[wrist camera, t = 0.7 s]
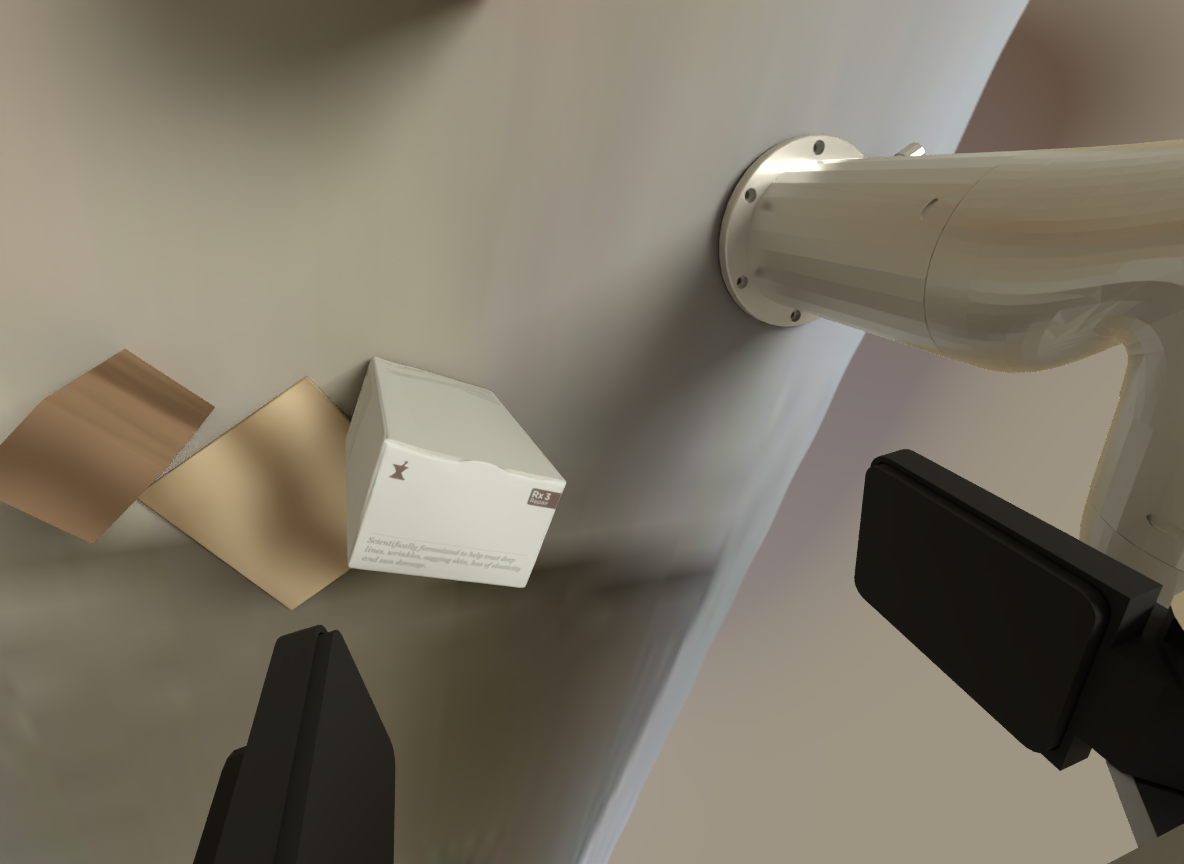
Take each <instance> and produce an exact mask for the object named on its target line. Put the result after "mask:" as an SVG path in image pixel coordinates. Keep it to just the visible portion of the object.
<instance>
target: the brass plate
mask: <svg viewBox="0 0 1184 864" xmlns="http://www.w3.org/2000/svg"><path fill="white" fill-rule="evenodd" d="M350 424H351V421H350V420H349V419H348V418H347V417H346V416H345V415H344V414H343V413H342V412H341V411H340V410H339V409H338V408H337V407H336V406H335V405H334V404H333V403H332V402H331V401H330V400H329V399H328V397H327V396H326V395H325V394H324V393H323V392H322V391H321V390H320V389H319V388H318V387H317V386H316V385H315V384H314V383H313V382H312V381H311V380H310V379H309V378H308V377H307V376H306V377H305V378H303V379H302V380H301V381H299V382H298V383H296V384H295V385H293V386H292V387H290V388H289V389H288V390H286V391H285V392H283V393H282V394H280V395H279V396H278V397H276V398H275V399H273V400H272V401H270V402H269V403H267V404H266V405H265V406H263V407H262V408H260V409H259V410H257V411H256V412H254V413H253V414H252V415H250V416H249V417H247V418H246V419H244V420H243V421H242V422H240V423H239V424H237V425H236V426H234V427H233V428H231V429H230V430H229V431H227V432H226V433H224V434H223V435H221V436H220V437H218V438H217V439H216V440H214V441H213V442H211V443H210V444H208V445H207V446H206V447H204V448H203V449H201V450H200V451H198V452H197V453H195V454H194V455H193V456H191V457H190V458H188V459H187V460H185V461H184V462H182V463H181V464H180V465H178V466H177V467H175V468H174V469H172V470H171V471H170V472H168V473H167V474H165V475H164V476H162V477H161V478H159V479H158V480H157V481H155V482H154V483H152V484H151V485H150V486H149V487H148V488H147V489H146V490H145V491H144V492H143V493H142V494H141V495H140V496H139V497H138V499H139V500H141V501H142V502H143V503H145V504H146V505H147V506H149V507H150V508H152V509H153V510H154V511H156V512H157V513H158V514H160V515H161V516H163V517H164V518H165V519H167V520H168V521H170V522H171V523H172V524H174V525H175V526H176V527H178V528H179V529H181V530H182V531H183V532H185V533H186V534H187V535H189V536H190V537H192V538H193V539H194V540H196V541H197V542H198V543H200V544H201V545H203V546H204V547H205V548H207V549H208V550H209V551H211V552H212V553H214V554H215V555H216V556H218V557H219V558H220V559H222V560H223V561H225V562H226V563H227V564H229V565H230V566H231V567H233V568H234V569H236V570H237V571H238V572H240V573H241V574H242V575H244V576H245V577H247V578H248V579H249V580H251V581H252V582H254V583H255V584H256V585H258V586H259V587H260V588H262V589H263V590H265V591H266V592H267V593H269V594H270V595H271V596H273V597H274V598H276V599H277V600H278V601H280V602H281V603H282V604H284V605H285V606H287V607H288V608H289V609H291V610H293V609H295V608H296V607H297V606H299V605H300V604H302V603H303V602H304V601H306V600H307V599H309V598H310V597H311V596H313V595H314V594H316V593H317V592H319V591H320V590H321V589H323V588H324V587H326V586H327V585H328V584H330V583H331V582H333V581H334V580H335V579H337V578H338V577H340V576H341V575H343V574H344V573H345V572H347V571H348V570H350V569H351V568H349V567H348V554H347V511H346V437H347V433H348V430H349V427H350Z"/></svg>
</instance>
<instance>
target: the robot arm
mask: <svg viewBox="0 0 1184 864" xmlns="http://www.w3.org/2000/svg"><path fill="white" fill-rule="evenodd" d="M745 193H746V196H745ZM719 259H720V265H721V271H722V276H723V278H724V281H725V284H726V286H727V289H728V291H729V293H730V294H731V296H732V297H733V299H734V300H735V302H736V303H737V304H738V305H739V306H740V307H741V308H742V309H743V310H744V311H745V312H746V313H747V314H749V315H751V316H752V317H754V318H756V319H757V320H760V321H763V322H765V323H768V324H771V325H777V326H782V327H790V326H799V325H802V324H806V323H810V322H812V321H814V320H816V319H818V318H821V317H822V318H825V319H828V320H831V321H834V322H838V323H841V324H844V325H847V326H850V327H853V328H856V329H859V330H862V331H866V332H869V333H872V334H875V335H878V336H881V337H884V338H888V339H891V340H894V341H897V342H900V343H903V344H906V345H909V346H912V347H915V348H919V349H922V350H925V351H928V352H931V353H934V354H937V355H940V356H944V357H946V358H950V359H953V360H957V361H960V362H963V363H966V364H969V365H973V366H976V367H979V368H983V369H987V370H991V371H999V372H1007V373H1021V372H1022V373H1024V372H1036V371H1041V370H1047V369H1052V368H1056V367H1060V366H1063V365H1066V364H1069V363H1072V362H1075V361H1078V360H1081V359H1084V358H1087V357H1089V356H1092V355H1094V354H1097V353H1099V352H1102V351H1105V350H1107V349H1109V348H1112V347H1114V346H1117V345H1119V344H1121V343H1122V344H1123V345H1124V346H1125V347H1126V351H1127V354H1128V364H1127V368H1126V372H1125V375H1124V379H1123V383H1122V387H1121V390H1120V399H1119V402H1118V406H1117V408H1116V411H1115V414H1114V417H1113V420H1112V423H1111V426H1110V429H1109V432H1108V435H1107V438H1106V441H1105V444H1104V447H1103V450H1102V453H1101V456H1100V459H1099V462H1098V465H1097V468H1096V471H1095V474H1094V477H1093V479H1092V482H1091V486H1090V491H1089V494H1088V497H1087V500H1086V504H1085V507H1084V511H1083V516H1082V520H1081V525H1080V536H1079V540H1078V539H1076V538H1074V537H1072V536H1070V535H1068V534H1067V533H1065V532H1063V531H1061V530H1059V529H1057V528H1055V527H1054V526H1052V525H1050V524H1048V523H1046V522H1044V521H1042V520H1041V519H1038V518H1037V517H1035V516H1033V515H1031V514H1029V513H1028V512H1026V511H1024V510H1022V509H1020V508H1018V507H1016V506H1015V505H1013V504H1011V503H1009V502H1007V501H1005V500H1003V499H1002V498H1000V497H998V496H996V495H994V494H992V493H990V492H988V491H986V490H985V489H983V488H981V487H979V486H977V485H975V484H973V483H972V482H970V481H968V480H966V479H964V478H962V477H961V476H958V475H957V474H955V473H953V472H951V471H949V470H947V469H945V468H944V467H942V466H940V465H938V464H936V463H934V462H933V461H931V460H929V459H927V458H925V457H923V456H922V455H919V454H918V453H916V452H914V451H911V450H909V449H903V450H899V451H896V452H892V453H889V454H886V455H882V456H879V457H877V458H875V459H874V460H873V461H872V463H871V467H870V468H869V469H868V470H867V472H866V475H865V485H864V494H863V503H862V512H861V522H860V531H859V540H858V550H857V558H856V567H855V577H854V579H855V585H856V588H857V590H858V592H859V593H860V594H861V596H862V597H863V598H864V599H865V600H866V601H867V602H868V603H869V604H870V605H871V606H872V607H874V608H875V609H876V610H877V611H878V612H879V613H880V614H881V615H882V616H883V617H884V618H886V619H887V620H888V621H889V622H890V623H891V624H892V625H893V626H894V627H895V628H896V629H897V630H899V631H900V632H901V633H902V634H903V635H904V636H905V637H906V638H907V639H908V640H909V641H910V642H912V643H913V644H914V645H915V646H916V647H917V648H918V649H919V650H920V651H921V652H922V653H924V654H925V655H926V656H927V657H928V658H929V659H930V660H931V661H932V662H933V663H934V664H936V665H937V666H938V667H939V668H940V669H941V670H942V671H943V672H944V673H946V674H947V675H948V676H949V677H950V678H951V679H952V680H953V681H954V682H955V683H956V684H957V685H958V686H959V687H961V688H962V689H963V690H964V691H965V692H966V693H967V694H968V695H969V696H971V698H973V699H974V700H975V701H976V702H977V703H978V704H979V705H980V706H981V707H982V708H984V709H985V710H986V711H987V712H988V713H989V714H990V715H991V716H992V717H993V718H994V719H995V720H997V721H998V722H999V723H1000V724H1001V725H1002V726H1003V727H1004V728H1005V729H1006V730H1007V731H1008V732H1010V733H1011V734H1012V735H1013V736H1014V737H1015V738H1016V739H1017V740H1018V741H1019V742H1020V743H1022V744H1023V745H1024V746H1025V747H1027V748H1028V749H1030V750H1032V751H1034V752H1038V753H1041V754H1042V755H1043V756H1044V757H1045V758H1047V759H1048V760H1049V761H1050V762H1051V763H1052V764H1053V765H1054V766H1055V767H1056V768H1058V769H1059V770H1060V771H1061V770H1063V769H1065V768H1067V767H1069V766H1071V765H1073V764H1075V763H1078V762H1080V761H1082V760H1084V759H1086V758H1088V756H1089V753H1090V751H1091V749H1092V748H1093V749H1094V750H1095V751H1096V752H1097V753H1099V754H1100V755H1101V756H1102V757H1104V758H1105V759H1106V763H1107V766H1108V768H1109V771H1110V774H1111V776H1112V779H1113V781H1114V784H1115V787H1116V789H1117V792H1118V795H1119V798H1120V800H1121V803H1122V806H1123V808H1124V811H1125V813H1126V816H1127V818H1128V821H1129V824H1130V827H1131V829H1132V832H1133V835H1134V837H1135V840H1136V842H1137V845H1138V848H1137V849H1135V850H1133V851H1131V852H1129V853H1127V854H1125V855H1124V856H1122V857H1120V858H1118V859H1116V860H1114V861H1112V862H1110V863H1108V864H1184V139H1182V140H1171V141H1161V142H1150V143H1139V144H1127V145H1114V146H1100V147H1086V148H1065V149H1046V150H1029V151H1008V152H986V153H965V154H943V155H925V152H924V149H923V147H922V146H921V145H920V144H919V143H912V144H910V145H908V146H907V147H905V148H904V149H902V150H901V151H900V152H898V153H897V154H895V156H893V157H872V158H865V156H864V155H863V153H862V152H861V151H859V150H858V149H857V148H856V147H855V146H854V145H853V144H852V143H850V142H848V141H846V140H844V139H842V138H840V137H837V136H832V135H827V134H811V135H803V136H798V137H793V138H790V139H788V140H785V141H783V142H781V143H779V144H776V145H775V146H774V147H772V148H771V149H769V150H768V151H766V152H765V153H764V154H762V155H761V156H760V157H759V158H758V159H757V160H756V161H755V162H754V163H753V164H752V165H751V166H750V167H749V168H748V169H747V171H746V172H745V174H744V175H743V177H742V178H741V179H740V181H739V182H738V184H737V185H736V187H735V189H734V191H733V193H732V195H731V197H730V200H729V202H728V204H727V207H726V211H725V214H724V217H723V220H722V225H721V232H720V238H719ZM737 280H738V282H737ZM394 809H395V757H394V751H393V747H392V743H391V741H390V738H389V736H388V734H387V732H386V730H385V727H384V725H383V723H382V721H381V719H380V717H379V714H378V712H377V710H376V708H375V706H374V704H373V701H372V699H371V697H370V695H369V693H368V691H367V688H366V686H365V684H364V682H363V680H362V678H361V676H360V673H359V671H358V669H357V667H356V665H355V663H354V660H353V658H352V656H351V654H350V652H349V650H348V647H347V645H346V643H345V641H344V639H343V637H342V635H341V633H340V632H339V631H338V630H334V631H331V632H327V630H326V629H325V627H324V626H322V625H317V626H313V627H310V628H307V629H303V630H300V631H297V632H294V633H290V634H287V635H284V636H281V637H279V638H278V639H277V642H276V644H275V647H274V650H273V654H272V657H271V661H270V665H269V668H268V672H267V675H266V679H265V682H264V686H263V689H262V693H261V696H260V700H259V703H258V707H257V711H256V714H255V718H254V721H253V725H252V728H251V732H250V735H249V739H248V742H247V746H245V747H242V748H239V749H237V750H234V751H233V752H232V753H231V755H230V756H229V757H228V758H227V760H226V763H225V765H224V767H223V770H222V773H221V776H220V779H219V782H218V785H217V789H216V792H215V795H214V798H213V801H212V805H211V808H210V811H209V814H208V817H207V821H206V824H205V827H204V830H203V833H202V837H201V840H200V843H199V846H198V850H197V853H196V856H195V859H194V862H193V864H393V862H394Z"/></svg>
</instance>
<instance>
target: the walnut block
mask: <svg viewBox="0 0 1184 864" xmlns="http://www.w3.org/2000/svg"><path fill="white" fill-rule="evenodd" d="M214 408H215V407H214V406H212V405H211V404H209V403H208V402H206V401H205V400H203V399H202V398H200V397H199V396H197V395H195V394H194V393H192V392H191V391H189V390H188V389H186V388H185V387H183V386H182V385H180V384H179V383H177V382H175V381H174V380H172V379H171V378H169V377H168V376H166V375H165V374H163V373H162V372H160V371H159V370H157V369H155V368H154V367H152V366H151V365H149V364H148V363H146V362H145V361H143V360H142V359H140V358H138V357H137V356H135V355H134V354H132V353H131V352H129V351H128V350H126V349H124V350H123V351H121V352H119V353H118V354H116V355H115V356H113V357H111V358H110V359H108V360H107V361H105V362H103V363H102V364H100V365H98V366H97V367H95V368H94V369H92V370H90V371H89V372H87V373H86V374H84V375H82V376H81V377H79V378H78V379H76V380H74V381H73V382H71V383H70V384H68V385H66V386H65V387H63V388H62V389H60V390H58V391H57V392H55V393H54V394H52V395H50V396H49V397H47V398H46V399H44V400H42V402H41V403H40V404H39V405H38V406H37V407H36V408H35V409H34V410H33V411H32V412H31V413H30V414H29V415H28V416H27V417H26V419H25V420H24V421H23V422H22V423H21V424H20V425H19V426H18V427H17V428H16V429H15V430H14V431H13V432H12V433H11V434H10V435H9V437H8V438H7V439H6V440H5V441H4V442H3V443H2V444H1V445H0V501H1V502H4V503H6V504H8V505H10V506H12V507H14V508H16V509H18V510H21V511H23V512H25V513H27V514H29V515H31V516H33V517H36V518H38V519H40V520H42V521H44V522H46V523H48V524H51V525H53V526H55V527H57V528H59V529H61V530H63V531H65V532H68V533H70V534H72V535H74V536H76V537H78V538H80V539H83V540H85V541H87V542H89V543H91V544H93V543H94V542H95V541H96V540H97V539H98V538H99V537H100V536H101V535H102V534H103V533H104V532H105V531H106V530H107V529H108V528H109V527H110V526H111V525H112V524H113V523H114V522H115V521H116V520H117V519H118V518H119V517H120V516H121V515H122V514H123V513H124V512H125V510H126V509H127V508H128V507H129V506H130V505H131V504H132V503H133V502H134V501H135V500H136V499H137V498H138V497H139V496H140V495H141V494H142V493H143V492H144V491H145V490H146V489H147V488H148V487H149V486H150V485H151V484H152V483H153V482H154V481H155V480H156V479H157V478H158V477H159V476H160V475H161V473H162V472H163V471H164V470H165V469H166V468H167V467H168V466H169V464H170V463H171V462H172V461H173V459H174V458H175V457H176V456H177V454H178V453H179V452H180V451H181V449H182V448H183V447H184V446H185V444H186V443H187V442H188V440H189V439H190V438H191V437H192V435H193V434H194V433H195V432H196V430H197V429H198V428H199V427H200V425H201V424H202V423H203V422H204V420H205V419H206V418H207V417H208V415H209V414H210V413H211V412H212V410H213V409H214Z"/></svg>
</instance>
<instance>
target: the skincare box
mask: <svg viewBox="0 0 1184 864" xmlns="http://www.w3.org/2000/svg"><path fill="white" fill-rule="evenodd" d="M565 485H566V481H565V480H564V478H563V477H562V476H561V475H560V474H559V472H558V471H557V470H556V469H555V467H554V466H553V465H552V464H551V463H550V461H549V460H548V459H547V458H546V457H545V456H544V454H543V453H542V452H541V451H540V449H539V448H538V447H537V446H536V445H535V443H534V442H533V441H532V440H531V438H530V437H529V436H528V435H527V434H526V432H525V431H524V430H523V429H522V427H521V426H520V425H519V424H518V423H517V421H516V420H515V419H514V418H513V417H512V415H511V414H510V413H509V412H508V410H507V409H506V408H505V407H504V406H503V404H502V403H501V402H500V401H499V399H498V398H497V397H496V396H495V395H494V393H493V392H492V391H489V390H487V389H484V388H481V387H477V386H474V385H471V384H467V383H464V382H461V381H458V380H454V379H451V378H448V377H444V376H441V375H437V374H434V373H431V372H427V371H424V370H420V369H417V368H413V367H409V366H405V365H400V364H396V363H393V362H390V361H387V360H384V359H381V358H378V357H375V356H373V357H372V358H371V360H370V363H369V367H368V370H367V373H366V376H365V379H364V382H363V385H362V388H361V391H360V395H359V398H358V401H357V404H356V408H355V411H354V414H353V417H352V420H351V424H350V427H349V430H348V433H347V437H346V511H347V554H348V567H349V568H356V569H363V570H372V571H381V572H390V573H399V574H407V575H415V576H425V577H433V578H441V579H449V580H458V581H467V582H476V583H485V584H493V585H502V586H510V587H519V588H524V587H525V586H526V583H527V581H528V579H529V576H530V574H531V571H532V569H533V566H534V564H535V561H536V559H537V556H538V553H539V551H540V548H541V546H542V543H543V540H544V538H545V535H546V533H547V530H548V528H549V525H550V523H551V520H552V517H553V515H554V512H555V510H556V507H557V504H558V502H559V499H560V497H561V495H562V492H563V490H564V488H565Z"/></svg>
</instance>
